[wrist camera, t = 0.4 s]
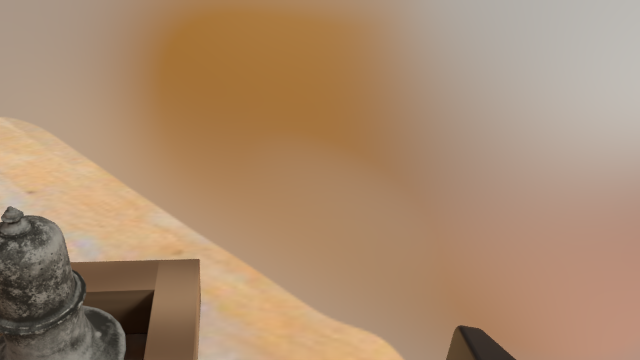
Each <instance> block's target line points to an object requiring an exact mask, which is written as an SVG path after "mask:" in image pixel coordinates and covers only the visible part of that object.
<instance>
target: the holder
mask: <svg viewBox="0 0 640 360" xmlns="http://www.w3.org/2000/svg"><path fill="white" fill-rule="evenodd" d="M70 264H71V268H72V269H73V270H75V271H77V272H78V273H79V274H80V275H81V276H82V277H83V279H84V281H85V283H86V296H85V299H84V301H83V304H82V305H83V306H89V307H93V308H98V309H100V310H103V311H105V312H107V313H109V314H111V315H112V316H113V317H114V318H115V319H116V320H117V321H118V322H119V323H120V325H121V327H122V329H123V331H124V333H125V334H135V333H148V335H147V342H146V348H145V354H144V360H198V342H199V323H200V305H201V293H200V260H199V259H186V260H148V261H109V262H70ZM2 335H3V334H1V333H0V336H2Z"/></svg>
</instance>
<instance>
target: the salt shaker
mask: <svg viewBox="0 0 640 360" xmlns="http://www.w3.org/2000/svg"><path fill="white" fill-rule="evenodd" d="M1 219H2V221H3V222H0V333H1V334H3V335H2V336H0V360H124V356H125V352H126V339H125V333H124V331H123V329H122V327H121V325H120V323H119V322H118V321H117V320H116V319H115V318H114V317H113V316H112V315H111V314H109V313H107V312H105V311H103V310H100V309H98V308H93V307H89V306H83V305H82V304H83V301H84V299H85V296H86V283H85V281H84V279H83V277H82V276H81V275H80V274H79V273H78V272H77V271H75V270H73V269H72V268H71V264H70V260H69V256H68V252H67V247H66V243H65V239H64V236H63V234H62V231H61V230H60V228H59V227H58V226H57V225H56V224H55V223H54V222H52V221H50V220H48V219H46V218H43V217H40V216H24V214H23V212H22V211H20V210H18V209H16V208H13V207H11V206H10V207H8V208H7V210H6V211H5V212H4V214H3V215H2V217H1Z"/></svg>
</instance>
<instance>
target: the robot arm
mask: <svg viewBox="0 0 640 360" xmlns="http://www.w3.org/2000/svg"><path fill="white" fill-rule="evenodd" d="M446 360H516V359H515V358H513V357H512V356H511V355H510V354H509V353H508V352H507V351H505V350H504V349H503V348H502V347H501V346H500V345H499V344H498V343H496V342H495V341H494V340H493V339H492V338H491V337H490V336H488V335H487V334H486V333H485V332H484V331H483V330H481V329H479V328H474V327H468V326H462V325H460V326H458V327H457V328H456V329H455V331H454V334H453V337H452V341H451V344H450V348H449V351H448V355H447V358H446Z"/></svg>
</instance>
